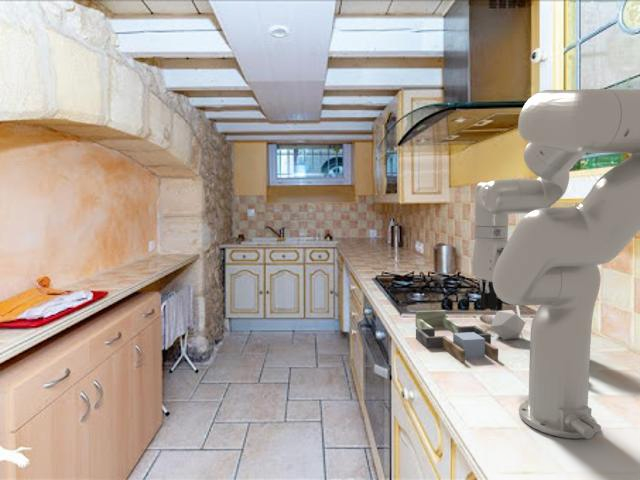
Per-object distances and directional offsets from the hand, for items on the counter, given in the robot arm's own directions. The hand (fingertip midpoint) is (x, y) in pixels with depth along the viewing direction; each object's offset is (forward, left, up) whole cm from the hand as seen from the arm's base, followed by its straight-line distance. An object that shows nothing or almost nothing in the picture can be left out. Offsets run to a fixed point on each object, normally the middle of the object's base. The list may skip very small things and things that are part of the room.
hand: (488, 307), depth 102 cm
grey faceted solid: (+21, -18, -15) cm, 31 cm away
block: (+10, 0, -15) cm, 18 cm away
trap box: (+20, 0, -15) cm, 25 cm away
